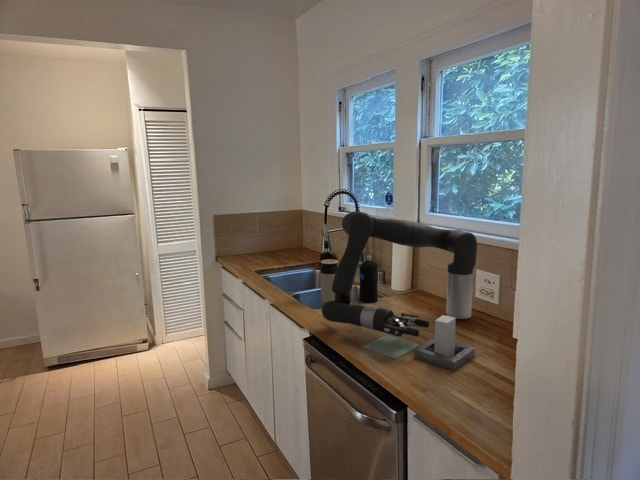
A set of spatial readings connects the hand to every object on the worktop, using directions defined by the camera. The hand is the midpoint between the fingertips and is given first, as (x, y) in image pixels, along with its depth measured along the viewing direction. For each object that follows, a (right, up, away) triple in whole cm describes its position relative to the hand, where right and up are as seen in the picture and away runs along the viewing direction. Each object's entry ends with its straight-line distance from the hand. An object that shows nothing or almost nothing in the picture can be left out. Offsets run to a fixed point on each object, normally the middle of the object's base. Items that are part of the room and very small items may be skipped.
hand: (423, 328), depth 128 cm
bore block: (+6, -8, -3) cm, 10 cm away
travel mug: (-28, 0, +54) cm, 61 cm away
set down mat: (-9, -7, +5) cm, 13 cm away
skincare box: (+6, -8, -3) cm, 10 cm away
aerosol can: (-11, +1, +54) cm, 55 cm away
